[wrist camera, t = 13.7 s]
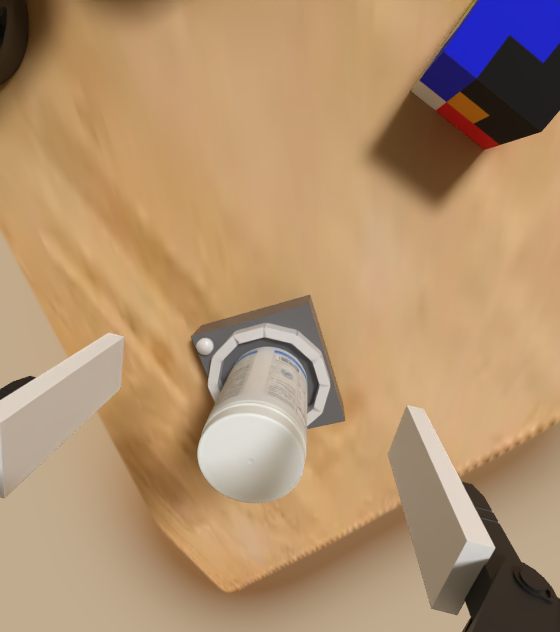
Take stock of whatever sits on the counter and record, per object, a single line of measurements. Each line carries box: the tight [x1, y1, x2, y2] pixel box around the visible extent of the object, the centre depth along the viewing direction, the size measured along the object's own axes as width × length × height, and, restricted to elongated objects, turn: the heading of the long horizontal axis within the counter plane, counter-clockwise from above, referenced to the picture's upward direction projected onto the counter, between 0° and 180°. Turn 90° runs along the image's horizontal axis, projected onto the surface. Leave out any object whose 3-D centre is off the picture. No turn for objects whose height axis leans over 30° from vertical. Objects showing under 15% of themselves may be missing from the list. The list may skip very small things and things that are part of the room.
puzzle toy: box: [411, 0, 560, 150], centre depth 30 cm, size 10×10×10 cm
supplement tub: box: [197, 347, 308, 503], centre depth 36 cm, size 10×10×15 cm
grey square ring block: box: [191, 295, 345, 429], centre depth 45 cm, size 16×15×6 cm
